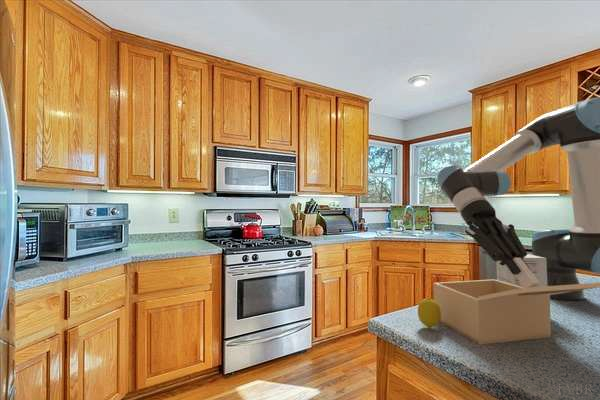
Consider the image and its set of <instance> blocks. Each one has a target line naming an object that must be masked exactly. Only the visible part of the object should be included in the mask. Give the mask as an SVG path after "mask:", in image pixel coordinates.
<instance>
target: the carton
mask: <svg viewBox="0 0 600 400" xmlns="http://www.w3.org/2000/svg"><path fill="white" fill-rule="evenodd" d="M432 285H433V287H432V288H433V300H434V301H436V302H437V303H438V305H439V307H440V311H441V319H440V322H439V323H441V324H443V325H445V326H446V327H448V328H450V329H451V330H454V331H455V332H457V333H458V334H460V335H461V336H464V337H465V338H467V339H468V340H470V341H472V342H474V343H475V344H477V345H479V346H481V345H489V344H497V343H508V342H518V341H526V340H527V341H528V340H535V339H544V338H545V339H546V338H551V337H552V328H551V327H552V326H551V324H552V323H551V298H550V295H543V296H530V297H516V298H502V299H489V300H478V296H483V295H488V294H493V293H499V292H504V291H509V290H514V289H519V288H523V287H519V286H516V285H512V284H509V283H505V282H502V281H498V280H497V279H478V280H477V279H476V280H462V281H460V280H459V281H445V282H433V284H432Z"/></svg>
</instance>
